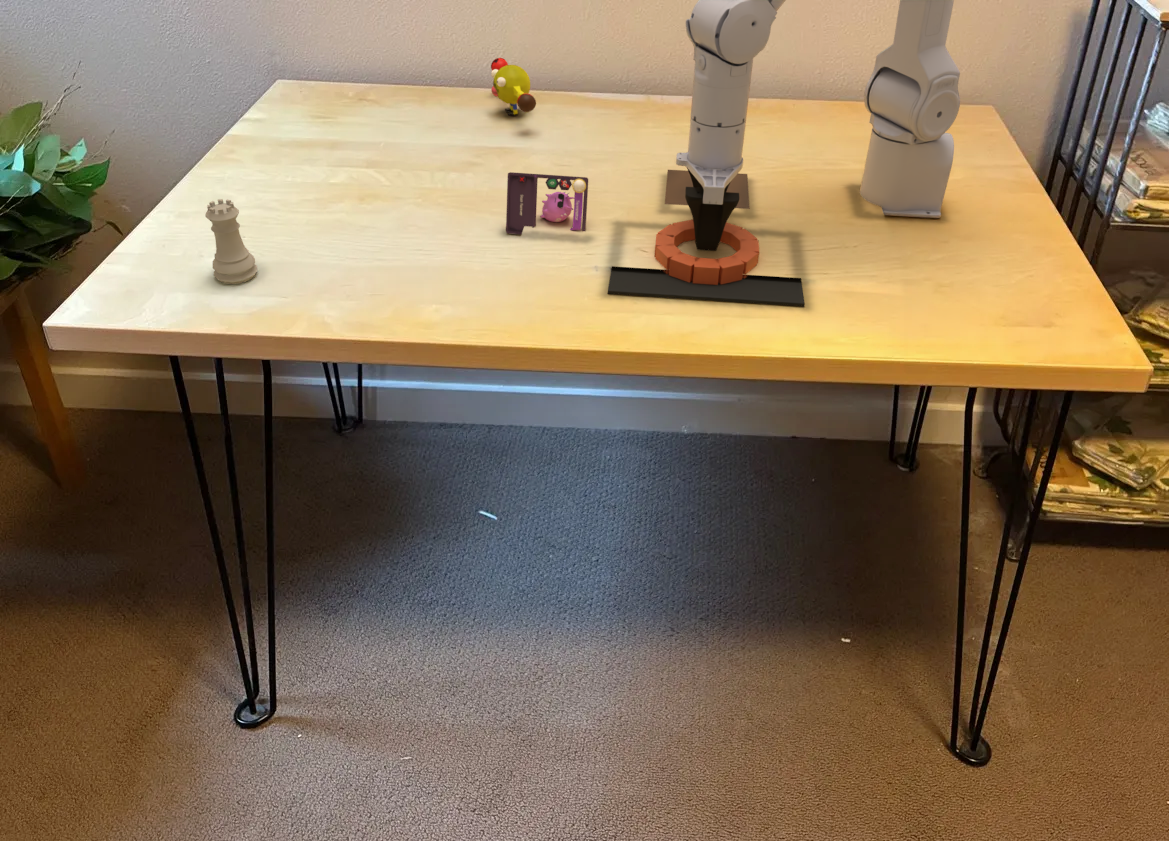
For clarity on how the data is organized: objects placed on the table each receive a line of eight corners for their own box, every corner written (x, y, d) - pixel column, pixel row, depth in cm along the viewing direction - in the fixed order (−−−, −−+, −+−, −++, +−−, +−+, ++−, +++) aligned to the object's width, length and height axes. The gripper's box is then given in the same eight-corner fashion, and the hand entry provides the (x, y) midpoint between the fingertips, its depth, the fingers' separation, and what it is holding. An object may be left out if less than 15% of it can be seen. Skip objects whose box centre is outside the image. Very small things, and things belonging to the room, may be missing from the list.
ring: (755, 238, 110) (757, 222, 108) (758, 287, 101) (760, 270, 100) (657, 232, 110) (658, 216, 109) (652, 281, 102) (653, 264, 100)
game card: (506, 172, 108) (587, 178, 107) (515, 169, 112) (592, 175, 112) (504, 234, 110) (583, 240, 109) (513, 228, 115) (589, 234, 114)
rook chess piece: (241, 260, 105) (226, 191, 100) (267, 273, 103) (252, 203, 98) (205, 276, 102) (187, 205, 97) (231, 290, 100) (213, 218, 95)
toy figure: (479, 94, 146) (476, 47, 142) (515, 90, 148) (513, 44, 143) (508, 138, 133) (506, 89, 129) (547, 134, 134) (546, 85, 130)
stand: (746, 181, 123) (751, 142, 120) (748, 216, 115) (753, 176, 112) (667, 176, 123) (669, 138, 120) (663, 211, 116) (666, 171, 113)
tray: (793, 234, 111) (794, 231, 111) (804, 306, 99) (804, 303, 98) (619, 224, 113) (619, 221, 113) (607, 294, 100) (607, 290, 100)
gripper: (681, 91, 106) (672, 206, 115) (677, 142, 95) (668, 265, 103) (746, 94, 106) (733, 209, 114) (750, 146, 95) (735, 269, 103)
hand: (706, 236), depth 109 cm, fingers open, 6 cm apart
